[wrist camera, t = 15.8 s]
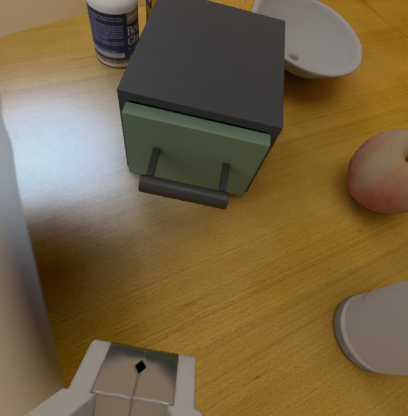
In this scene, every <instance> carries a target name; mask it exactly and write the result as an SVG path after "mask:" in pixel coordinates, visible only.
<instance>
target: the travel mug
mask: <svg viewBox="0 0 408 416" xmlns="http://www.w3.org/2000/svg"><path fill="white" fill-rule="evenodd" d="M334 327H335V333H336V337H337V340H338V342H339V345H340V347H341V348H342V350H343V352H344V353H345V354H346V356H347V357H348V358H349V359H350V360H351V361H352V362H353V363H354V364H355V365H356V366H358V367H360V368H361V369H363V370H365V371H368V372H372V373H379V374H391V375H403V376H408V280H405V281H401V282H398V283H395V284H391V285H388V286H384V287H381V288H378V289H374V290H371V291H368V292H364V293H361V294H357V295H354V296H351V297H348V298H346V299H345V300H343V301H342V302H341V303H340V305H339V307H338V308H337V311H336V314H335V320H334Z"/></svg>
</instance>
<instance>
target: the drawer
mask: <svg viewBox="0 0 408 416" xmlns="http://www.w3.org/2000/svg"><path fill="white" fill-rule="evenodd" d="M122 119H123V127H124V134H125V141H126V149H127V156H128V164H129V171H130V172H132V173H137V174H142V175H141V178H140V181H139V191H140V192H144V193H149V194H154V195H159V196H163V197H168V198H173V199H178V200H182V201H187V202H192V203H197V204H201V205H206V206H211V207H215V208H220V209H226V207H227V204H228V200H229V193H230V194H235V195H240V196H243V194H244V192H245V191H246V189H247V187H248V185H249V183H250V182H251V180H252V178H253V176H254V174H255V173H256V171H257V169H258V167H259V165H260V164H261V162H262V160H263V158H264V156H265V155H266V153H267V151H268V149H269V147H270V141H271V135H269V134H265V133H261V132H258V130H255V129H251V128H247V127H242V126H238V125H234V124H229V123H225V122H221V121H216V120H212V119H208V118H204V117H199V116H195V115H191V114H186V113H182V112H178V111H173V110H169V109H165V108H160V107H156V106H152V105H147V104H143V103H140V105H139V104H135V103H131V102H126V103H125V105H124V108H123V110H122Z"/></svg>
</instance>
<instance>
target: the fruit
mask: <svg viewBox="0 0 408 416" xmlns="http://www.w3.org/2000/svg"><path fill="white" fill-rule="evenodd" d="M347 183H348V189H349V192H350V194H351V196H352V198H353V199H354V200H355V201H356V202H357V203H359V204H360V205H361V206H363V207H364V208H366V209H368V210H370V211H373V212H376V213H382V214H399V213H404V212H408V129H395V130H389V131H385V132H382V133H379V134H376V135H374V136H373V137H371V138H370V139H368V140H367V141H365V142H364V143H363V144H362V145H361V146H360V147H359V149H358V150H357V151H356V152H355V154H354V155H353V157H352V159H351V161H350V163H349V166H348V178H347Z"/></svg>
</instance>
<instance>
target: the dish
mask: <svg viewBox="0 0 408 416" xmlns="http://www.w3.org/2000/svg"><path fill="white" fill-rule="evenodd" d="M252 12H253V13H257V14H261V15H265V16H269V17H273V18H277V19H280V20H284V21H286V23H285V60H284V69H285V70H286V71H288V72H290V73H292V74H294V75H296V76H299V77H304V78H309V79H322V78H328V77H342V76H346V75H349V74H351V73H352V72H354V71H355V70H356V69H357V68H358V67H359V65H360V63H361V61H362V55H363V52H362V46H361V43H360V40H359V38H358V36H357V35H356V33H355V31H354V30H353V29H352V27H351V26H350V25H349V24H348V23H347V22H346V21H345V20H344V19H343V18H342V17H341V16H340V15H339V14H338V13H337V12H335V11H334V10H333V9H331V8H330V7H328V6H327V5H325V4H323V3H322V2H320V1H318V0H256V1H255V3H254V5H253V8H252Z"/></svg>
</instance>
